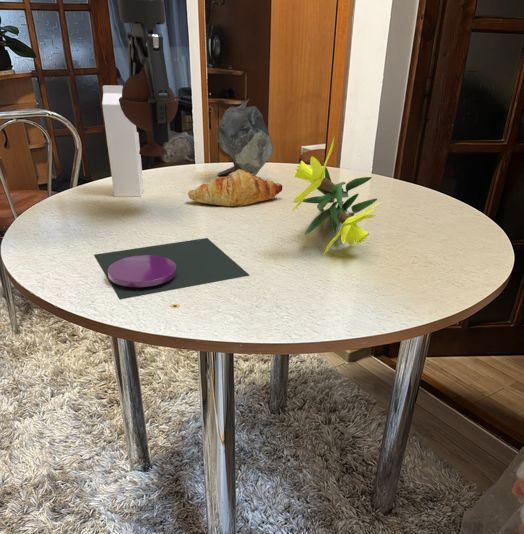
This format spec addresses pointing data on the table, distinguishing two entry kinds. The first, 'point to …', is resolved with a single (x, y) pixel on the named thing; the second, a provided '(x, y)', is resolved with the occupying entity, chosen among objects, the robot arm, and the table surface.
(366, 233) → the daffodil flowers
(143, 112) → the ice cream bowl
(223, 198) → the croissant
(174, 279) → the placemat
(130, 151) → the milk
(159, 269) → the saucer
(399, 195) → the table surface
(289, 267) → the table surface
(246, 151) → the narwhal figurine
